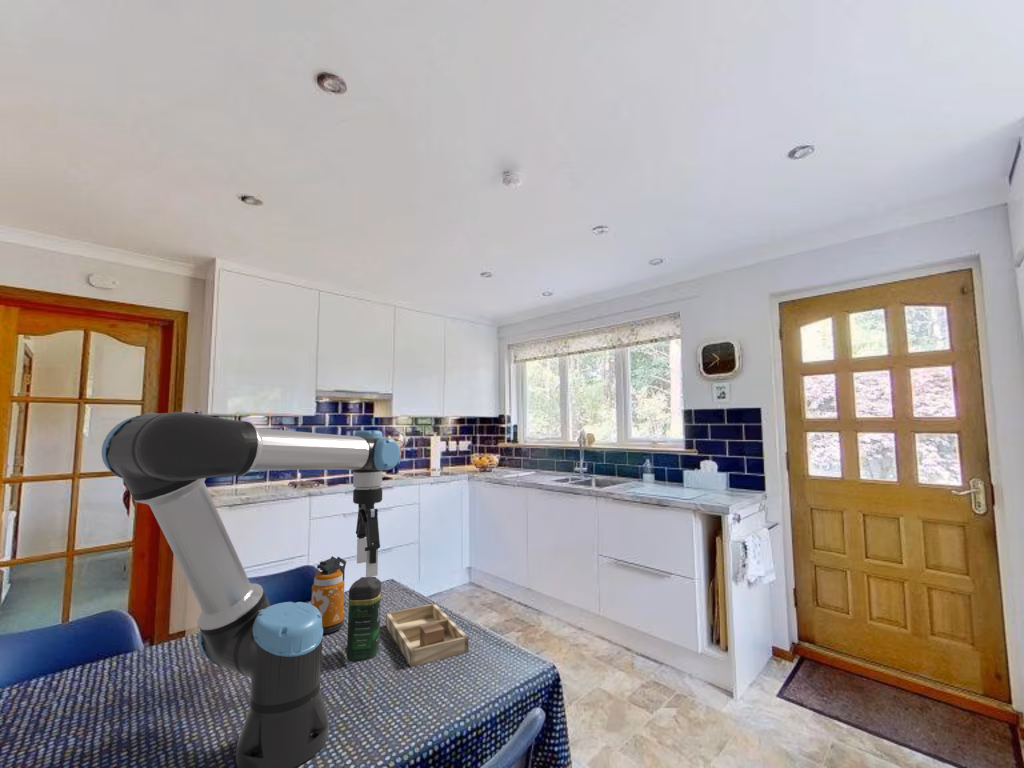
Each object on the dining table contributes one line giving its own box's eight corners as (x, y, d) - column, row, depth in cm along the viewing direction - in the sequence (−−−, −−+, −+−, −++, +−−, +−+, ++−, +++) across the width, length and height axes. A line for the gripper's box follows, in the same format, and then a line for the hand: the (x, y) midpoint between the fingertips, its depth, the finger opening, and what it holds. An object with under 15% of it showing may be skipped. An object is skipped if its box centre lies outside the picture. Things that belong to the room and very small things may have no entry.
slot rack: (468, 655, 113) (468, 637, 114) (410, 670, 106) (411, 651, 107) (434, 617, 137) (434, 603, 137) (385, 628, 130) (386, 612, 130)
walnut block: (444, 649, 115) (444, 628, 116) (425, 653, 113) (425, 633, 113) (437, 641, 119) (437, 621, 120) (419, 645, 117) (419, 625, 118)
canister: (303, 634, 127) (305, 561, 129) (329, 618, 137) (331, 552, 140) (329, 637, 124) (331, 563, 127) (353, 621, 135) (355, 553, 137)
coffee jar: (376, 662, 110) (378, 584, 112) (343, 665, 109) (345, 586, 111) (382, 644, 120) (383, 573, 122) (351, 646, 119) (353, 575, 121)
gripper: (392, 491, 110) (392, 579, 108) (373, 482, 132) (371, 555, 130) (361, 494, 107) (360, 585, 104) (346, 484, 129) (344, 559, 126)
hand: (366, 569), depth 117 cm, fingers open, 13 cm apart
